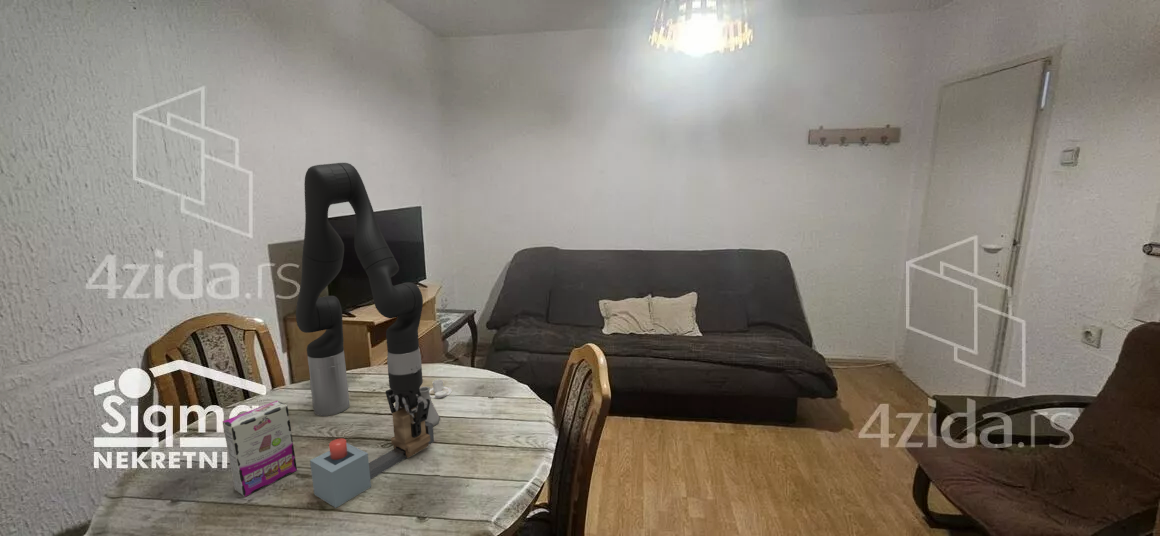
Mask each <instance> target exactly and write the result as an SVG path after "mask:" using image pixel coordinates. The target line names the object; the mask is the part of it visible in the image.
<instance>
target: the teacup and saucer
mask: <svg viewBox="0 0 1160 536" xmlns="http://www.w3.org/2000/svg"><path fill="white" fill-rule="evenodd" d="M443 389H445V390H443ZM446 390H447V391H446ZM432 391H433V392H434V395H431V394H430V393H431V392H432ZM452 392H453V390H452V388H451V387H450V386H445V385H444V380H443V379H441V378H439V379H434V380H432V387H430V390H429V394H430V398H431V399H441V398H444V397H447V396H448V395H450V394H451V393H452Z"/></svg>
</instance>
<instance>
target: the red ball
mask: <svg viewBox="0 0 1160 536" xmlns="http://www.w3.org/2000/svg"><path fill="white" fill-rule="evenodd" d="M346 443H347V440H346V438H341V437H340V438H336V439H333V440H331V441H330V442H329V444H328V446H329V451H330V457H331V459H333V460H338V459H342V458H344V457H345V456H347V444H346Z"/></svg>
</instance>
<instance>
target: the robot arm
mask: <svg viewBox="0 0 1160 536" xmlns="http://www.w3.org/2000/svg"><path fill="white" fill-rule="evenodd" d="M362 179H363V178H362V177H361V175H360V173H359V172H358V170H357V169H356V167H355V166H353V165H352V163H349V162H336V163H324V164H316V165H312V166H309V167H308V168H307V170H306V172H305V176H304V186H303V187H304V210H305V211H304V212H305V221H304V223H305V224H304V238H303V245H302V257H301V258H302V259H301V279H300V287H299V292H298V293H299V294H298V296H297V301H296V309H295V319H296V320H295V321H296V325H297V327H298V329H299V330H300V331H301V332H303V333H306V334H308V333H316V332H322V331H324V332H323V334H322V335H320V336H318V337H317V338H316V339H314V340H312V341H311V342H309V344H308V345H307V346H306V354H307V363H308V370H309V371H308V372H309V382H310V383H309V384H310V392H311V399H312V400H311V402H312V409H313V412H314V414H315V415H317V416H321V417H322V416H325V417H326V416H332V415H337V414H339V413H342V412H344V411H346V410H347V409H348V408H350V404H351V403H350V396H349V395H350V394H349V387H348V386H349V385H348V376H347V369H346V368H347V367H346V359H345V357H346V356H345V350H344V349H345V347H344V325H343V309H342V305H341V303H340V300H339V298H338V297H337V296H336V295H327V296H326V295H325V296H321V297H320V295H321V294H322V292H323V291H324V290H325V289H326V288H327V287H328V286H329V285H330V284H331V283H332V282H333V281H334V280H335V279H336V277H337V276H338V275H339V273H340V272H341V270H342V267H343V263H344V261H343V260H344V255H345V243H344V241H343V239H342V238H341V235H339V233H338V232H337V231H336V229H335V228H334V227H333V225H332V224H331V222H330V221H329V208H330V207H331V205H337V204H344V203H349V205H350V206H351V208H352V209H353V213H354V215H355V231H354V239H353V243H354V250H355V253H356V256H357V259H358V260H359V262H360V264H361V266H362V268H363V270H364V272H365V273H366V274H367V277H368V280H369V281H368V282H369V287H370V290H371V295H372V300H373V303H374V306H375V309H376V310H377V311H378V313H379V314H380V315H381V316H382V317H384V318H387V319H394V318H396V320H395V321H394V322H393V324H391V325H390V326H389V327H388V328H387V329H386V333H385V339H386V348H387V349H386V351H387V358H386V364H387V372H388V373H387V374H388V387H389V389H387V390H385V392H384V393H385V396H386V399H387V403H388V406H389V410H390V413H391V414H392V413H394V412H396V411H400V410H402V409H404V408H405V409H406V413H407V415H410V421H411V434H412V437H413V438H416V437H418V436H419V435H420V434H421V422H422V421H424V420H427V416H428V411H429V406H430V400H429V399H426V400H424V399H423V398H422V397H421V393H420V387H422V385H423V382H424V380H423V367H422V355H421V351H420V350H421V349H420V345H419V344H420V343H419V327H420V323H421V317H422V312H423V306H424V299H423V294H422V292H421V289H420V288H419V286H417V284H415V283H414V282H409V281H408V282H402V283H399V284H396V285H393V283H392V277H394V276H395V275H396V274H397V273H399V270H400V266H399V264H398V261H397V260H396V258H395V256H394V253H392V251H391V248H390V247H389V245H388V243H387V241H386V240H385V237H384V236H383V233H382V231H381V229H380V225H379V223H378V220H377V217H376V214H375V212H374V208H373V206H372V203H371V200H370V198H369V195H368V192H367V190H366V186H365V183H364V182H363V180H362ZM414 407H416V408H415V409H413V410H411V409H412V408H414ZM415 413H417V415H416V417H414V414H415Z"/></svg>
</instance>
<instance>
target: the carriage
mask: <svg viewBox="0 0 1160 536" xmlns="http://www.w3.org/2000/svg"><path fill="white" fill-rule="evenodd" d="M415 408H416V407H414V408H412V409H411V410H413V409H415ZM391 414H392V415H391V416H392V425H393V437H390V444H391V445H393V446H392V447H393V448H392V449H395V448H397V447H399V448H401V449H403V450H406V457H408V458H409V459H410V458H411V457H413V456H414V455H416V454H417V453H419V452H421V451H423V450H425V449H427V448H428V447H429V443H428V442H429V441H430V435H428V434H426V429H425V420H424V421H422V422H421V434H420V435H419V436H418V437H416V438H413V437H412V434H411V421H410V415H407V413H406V409H405V408H404V409H402V410H400V411H396V412H394V413H391ZM416 415H417V413H415V414H414V417H416ZM408 458H407V459H408Z"/></svg>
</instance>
